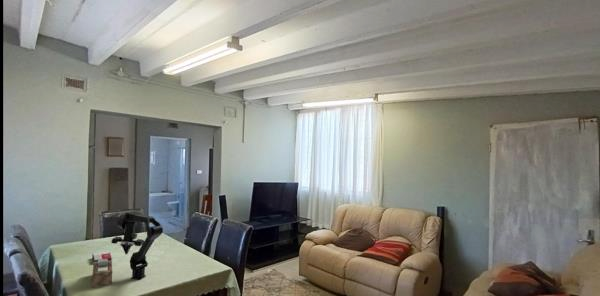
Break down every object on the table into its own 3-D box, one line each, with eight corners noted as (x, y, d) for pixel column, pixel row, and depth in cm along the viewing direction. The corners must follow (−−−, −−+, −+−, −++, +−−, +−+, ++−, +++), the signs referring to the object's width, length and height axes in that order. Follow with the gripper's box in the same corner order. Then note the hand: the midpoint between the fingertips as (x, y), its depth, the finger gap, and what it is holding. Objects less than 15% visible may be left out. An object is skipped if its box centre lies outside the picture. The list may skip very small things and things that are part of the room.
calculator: (93, 259, 228) (92, 252, 240) (93, 265, 228) (92, 258, 240) (111, 257, 234) (109, 250, 246) (111, 263, 234) (109, 256, 247)
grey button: (107, 263, 212) (107, 258, 212) (107, 266, 207) (107, 261, 207) (97, 264, 209) (98, 259, 209) (97, 267, 205) (98, 262, 205)
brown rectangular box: (110, 272, 215) (111, 259, 216) (111, 284, 196) (112, 270, 197) (92, 274, 210) (93, 261, 210) (91, 287, 191) (92, 273, 192)
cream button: (107, 271, 202) (107, 266, 202) (107, 274, 198) (107, 269, 198) (97, 273, 200) (97, 268, 200) (97, 275, 195) (97, 270, 195)
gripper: (148, 229, 224) (145, 251, 224) (120, 225, 223) (118, 248, 223) (141, 233, 213) (138, 257, 213) (112, 230, 212) (109, 254, 212)
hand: (126, 254), depth 216 cm, fingers closed
